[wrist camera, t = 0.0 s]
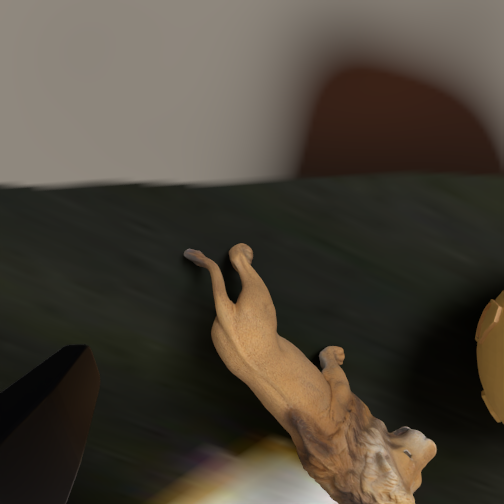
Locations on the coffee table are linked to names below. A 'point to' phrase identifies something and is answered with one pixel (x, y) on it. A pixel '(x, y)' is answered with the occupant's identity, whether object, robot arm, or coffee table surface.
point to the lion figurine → (312, 398)
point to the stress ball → (492, 356)
